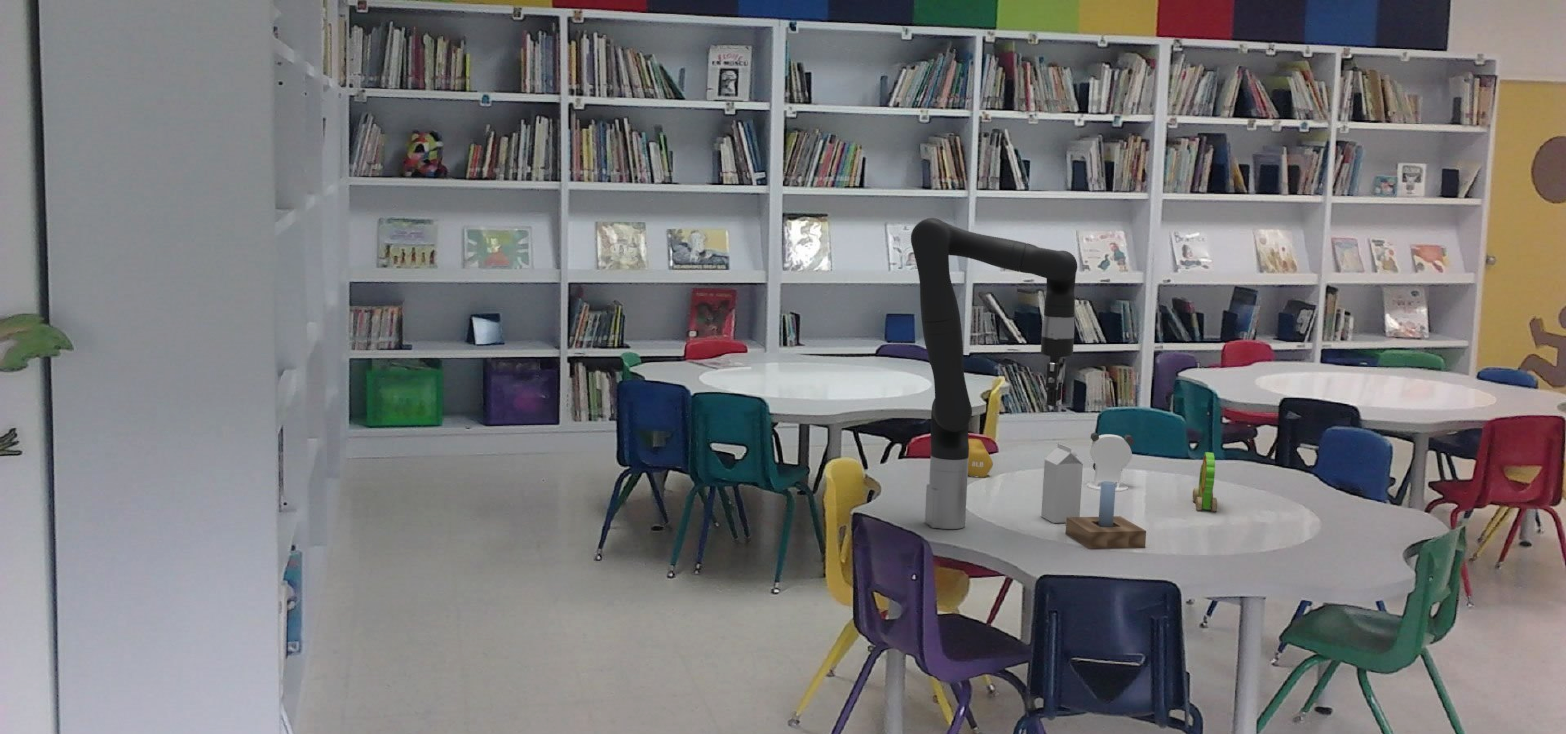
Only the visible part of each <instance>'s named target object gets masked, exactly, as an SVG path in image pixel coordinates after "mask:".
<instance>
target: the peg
mask: <svg viewBox="0 0 1566 734" xmlns="http://www.w3.org/2000/svg"><path fill="white" fill-rule="evenodd" d="M1115 488H1116V483H1115V482H1106V481H1105V482H1101V491H1100V490H1099V491H1100V495H1099V508H1098V517H1099V522H1098V526H1099V527H1113V518H1114V516H1115V515H1114V514H1115V500H1116V492H1115Z"/></svg>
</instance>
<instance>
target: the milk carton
mask: <svg viewBox="0 0 1566 734" xmlns="http://www.w3.org/2000/svg"><path fill="white" fill-rule="evenodd" d="M1077 456H1078V454H1077V453H1076V452H1075V451H1074V450H1073V449H1072V447H1069V446H1067V445H1064V444H1062V443H1059V442H1058V443H1057V447H1056V448H1055V449H1054V450H1053V451H1052V452H1051V453H1049V454H1048V455H1047V456H1046V457H1045V458H1044V464H1043V465H1044V466H1043V478H1042V479H1043V480H1042V496H1041V499H1042V500H1041V501H1042V502H1041V515H1040V517H1042V518H1044V519H1045V520H1047V521H1049V522H1051V523H1053V524H1066V518H1067V517H1081V516H1080V515H1081V500H1082V482H1083V469H1084V468H1083V467H1084V466H1083V463H1082V462H1081V461H1080V460H1079V459H1078V458H1077Z"/></svg>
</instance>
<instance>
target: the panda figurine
mask: <svg viewBox="0 0 1566 734" xmlns="http://www.w3.org/2000/svg"><path fill="white" fill-rule="evenodd" d="M1090 439H1091V441H1092V442H1091V445H1090V449H1089V452H1090V453H1089V455H1090V457H1091V459H1092V462H1094V463H1093V464H1092V469H1093V470H1094V472H1095V473H1094V478H1093V481H1090V482H1087V483H1086V487H1087V488H1089V489H1091V490H1095V491H1101V482H1105V481H1106V482H1114V483H1116V488H1115V493H1117V492H1125V491H1128V490H1129V486H1127V485H1125V484H1123V483H1121V477H1122V473H1123V472H1122V471H1123V469H1125V468H1126V467H1127V466H1128V465H1129V464H1130V462H1131V460H1132V457H1133V453H1132V449H1131V446H1134V444H1135V440H1134V437H1132V436H1131V435H1130V434H1125V435H1124V437H1122V436H1120V435H1118V434H1117V435H1116V434H1109V433H1108V434H1107V433H1105V434H1101V435H1099V434H1098V433H1097V432H1092V433H1091V434H1090Z"/></svg>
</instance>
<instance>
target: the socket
mask: <svg viewBox="0 0 1566 734" xmlns="http://www.w3.org/2000/svg"><path fill="white" fill-rule="evenodd" d="M1098 522H1099V516H1080V517H1067V518H1066V523H1065V535H1067V536H1069V537H1070V538H1072V539H1074V540H1075V541H1077V542H1078V543H1080V544H1081V545H1083V546H1084V547H1086V548H1088V549H1089V550H1095V549H1097V550H1100V549H1137V548H1139V549H1140V548H1141V549H1144V548H1146V544H1147V543H1146V542H1147V541H1146V539H1147V530H1146V529H1143V528H1142V527H1140V526H1138V525H1137V524H1135V523H1133V522H1131V521H1130V520H1128V519H1126V518H1125V517H1122V516H1121V515H1120V516H1119V515H1118V516H1116V515H1114V518H1113V527H1099V526H1098Z"/></svg>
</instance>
